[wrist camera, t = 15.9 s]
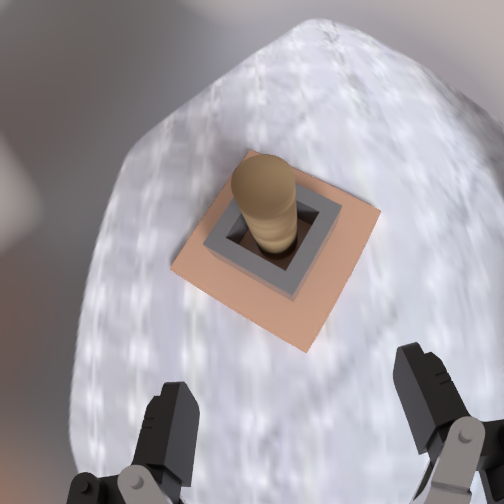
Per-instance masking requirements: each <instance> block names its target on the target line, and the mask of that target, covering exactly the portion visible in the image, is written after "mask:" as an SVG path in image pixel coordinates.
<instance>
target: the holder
mask: <svg viewBox="0 0 504 504" xmlns="http://www.w3.org/2000/svg"><path fill="white" fill-rule="evenodd" d="M256 155H262V154H259V153H257V152H255V151H252V150H250V151H249V152H248V153H247V155H246V156H245V157H244V159H243V160H242V162H243V161H244V160H246V159H248V158H250V157H253V156H256ZM242 162H241V163H242ZM241 163H240V164H241ZM240 164H239V165H240ZM291 168H292V167H291ZM292 170H293V172H294V176H295V188H296V208H297V232H298V243H297V247H296V249H295V251H294V252H293V253H292V254H291V255H290V256H289V257H287V258H285V259H281V260H273V259H269V258H267V257H266V256H264V255H263V254H262V253H261V252H260V250H259V248H258V246H257V244H256V242H255V240H254V237H253V235H252V233H251V231H250V229H249V227H248V225H247V223H246V221H245V218H244V216H243V214H242V212H241V210H240V208H239V206H238V204H237V202H236V200H235V197H234V195H233V193H232V190H231V179H232V176H231V177H230V179H229V180H228V181H227V183H226V184H225V186H224V187H223V189H222V190H221V192H220V193H219V194H218V196H217V197H216V199H215V200H214V202H213V203H212V205H211V206H210V208H209V209H208V211H207V212H206V214H205V215H204V217H203V218H202V220H201V221H200V223H199V224H198V226H197V227H196V229H195V230H194V232H193V233H192V235H191V236H190V238H189V239H188V241H187V242H186V244H185V245H184V247H183V249H182V250H181V252H180V253H179V255H178V256H177V258H176V260H175V261H174V263H173V264H172V266H171V267H170V270H172V271H173V272H175V273H176V274H178V275H179V276H181V277H182V278H184V279H185V280H187V281H188V282H190V283H191V284H193V285H195V286H196V287H198V288H199V289H201V290H202V291H204V292H205V293H207V294H209V295H210V296H212V297H213V298H215V299H217V300H218V301H220V302H221V303H223V304H224V305H226V306H228V307H229V308H231V309H233V310H234V311H236V312H237V313H239V314H241V315H242V316H244V317H246V318H247V319H249V320H251V321H252V322H254V323H256V324H257V325H259V326H261V327H262V328H264V329H266V330H267V331H269V332H271V333H272V334H274V335H276V336H277V337H279V338H281V339H283V340H284V341H286V342H288V343H290V344H291V345H293V346H295V347H297V348H298V349H300V350H302V351H304V352H305V353H307V352H308V350H309V348H310V347H311V345H312V343H313V342H314V340H315V338H316V337H317V335H318V333H319V332H320V330H321V328H322V326H323V325H324V323H325V321H326V319H327V318H328V316H329V314H330V312H331V310H332V309H333V307H334V305H335V303H336V301H337V299H338V298H339V296H340V294H341V292H342V290H343V288H344V286H345V285H346V283H347V281H348V279H349V277H350V275H351V273H352V271H353V269H354V267H355V265H356V263H357V261H358V259H359V257H360V255H361V253H362V251H363V249H364V247H365V245H366V243H367V241H368V239H369V237H370V234H371V232H372V230H373V228H374V226H375V224H376V222H377V219H378V217H379V215H380V213H381V211H380V210H379V209H377V208H375V207H373V206H371V205H369V204H367V203H365V202H363V201H361V200H359V199H357V198H355V197H353V196H351V195H349V194H347V193H345V192H343V191H341V190H339V189H337V188H335V187H333V186H331V185H329V184H327V183H325V182H323V181H321V180H318V179H316V178H314V177H312V176H310V175H308V174H305V173H303V172H301V171H299V170H297V169H294V168H292ZM232 175H233V174H232Z"/></svg>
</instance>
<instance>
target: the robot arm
mask: <svg viewBox="0 0 504 504" xmlns="http://www.w3.org/2000/svg"><path fill="white" fill-rule="evenodd" d="M393 380H394V385H395V388H396V390H397V393H398V396H399V398H400V401H401V404H402V406H403V409H404V412H405V415H406V418H407V420H408V423H409V426H410V429H411V432H412V435H413V438H414V441H415V444H416V447H417V450H418V453H419V455H420V454H423V453H426V452H428V454H429V457H430V459H429V461H428V464H427V466H426V469H425V471H424V473H423V476H422V478H421V480H420V482H419V485H418V487H417V489H416V491H415V493H414V495H413V497H412V499H411V501H410V503H409V504H469V503H470V500H471V495H472V492H471V491H470V486H471V483H472V480H473V477H474V474H475V471H479V473H480V477H481V481H482V484H483V488H484V492H485V496H486V500H487V504H504V419H502V420H496V421H489V422H482V421H480V420H478V419H477V418H474V417H472V416H471V415H470V414H469V413H468V411H467V409H466V407H465V405H464V403H463V401H462V399H461V397H460V395H459V393H458V391H457V389H456V387H455V385H454V383H453V381H451V377H450V375H449V373H447V370H446V368H445V366H444V364H443V362H442V360H441V359H440V358H438V357H437V356H436V355H435V354H433V353H432V352H429V353H426V354H424V352H423V350H422V349H421V347H420V345H419V344H418V343H417V342H414V343H411V344H407V345H404V346H400V347H398V348H397V352H396V358H395V364H394V370H393ZM199 417H200V411H199V406H198V403H197V401H196V400H195V398H194V396H193V395H192V393H191V391H190V390H189V388H188V386H187V385H186V383H185V382H166V383H164V385H163V387H162V391H161V395H160V396H154V397H153V399H152V400H151V401H150V403H149V404H148V405H147V408H146V411H145V415H144V420H143V423H142V426H141V427H142V429H141V430H140V434H139V438H138V442H137V446H136V450H135V454H134V458H133V461H132V464H131V465H130V466H128V467H126V468H125V469H123V470H122V471H121V473H120V474H119V475H114V476H108V477H101V478H97V477H96V476H94V475H93V474H91V473H88V472H83V473H80V474H78V475H77V476H75V477H74V479H73V480H72V482H71V486H70V491H69V495H68V499H67V504H187V503H186V502H185V500H184V499H183V497H182V496H181V495H180V492H181V486H183V487H191V480H192V472H193V464H194V456H195V448H196V440H197V432H198V425H199Z"/></svg>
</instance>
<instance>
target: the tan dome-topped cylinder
mask: <svg viewBox="0 0 504 504" xmlns="http://www.w3.org/2000/svg"><path fill="white" fill-rule="evenodd" d="M231 190H232V193H233V195H234V197H235V200H236V202H237V204H238V206H239V208H240V210H241V212H242V214H243V216H244V218H245V221H246V223H247V225H248V227H249V229H250V231H251V233H252V235H253V237H254V240H255V242H256V244H257V246H258V248H259V250H260V252H261V253H262V254H263V255H264V256H266V257H267V258H269V259H273V260H281V259H285V258H287V257H289V256H290V255H291V254H292V253H293V252H294V251H295V249H296V247H297V243H298V232H297V208H296V188H295V176H294V172H293V170H292V168H291V167H290V165H289V164H288V163H287V162H286V161H284V160H283V159H281V158H279V157H277V156H274V155H268V154H262V155H256V156H253V157H250V158H248V159H246V160H244V161H243V162H242V163H241V164H240V165H239V166H238V167H237V168H236V169H235V171H234V173H233V175H232V179H231Z"/></svg>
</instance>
